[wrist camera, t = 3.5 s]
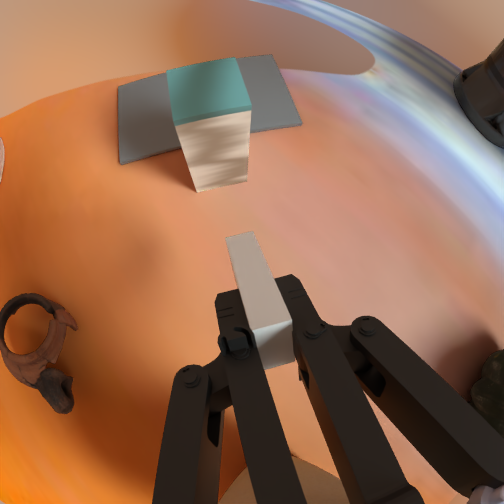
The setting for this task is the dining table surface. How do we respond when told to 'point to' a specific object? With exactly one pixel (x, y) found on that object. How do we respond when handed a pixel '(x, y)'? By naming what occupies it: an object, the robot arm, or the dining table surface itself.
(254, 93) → the mat
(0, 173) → the kettle
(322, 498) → the plant pot
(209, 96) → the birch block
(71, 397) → the vr controller
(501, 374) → the squash
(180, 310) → the dining table surface
